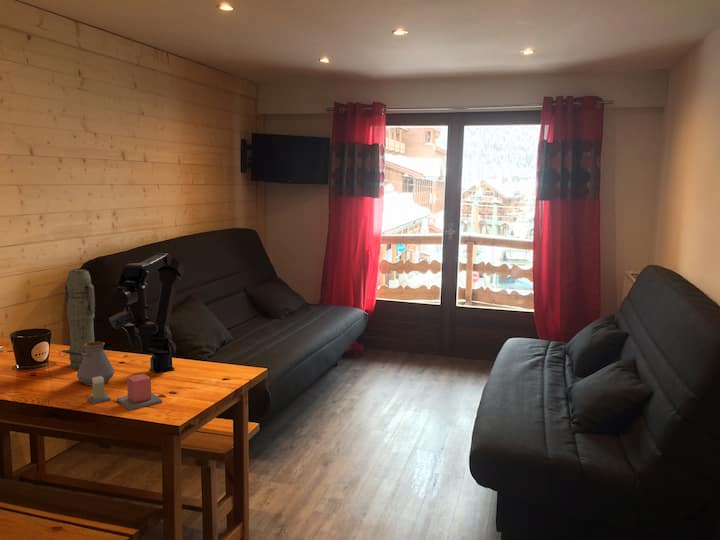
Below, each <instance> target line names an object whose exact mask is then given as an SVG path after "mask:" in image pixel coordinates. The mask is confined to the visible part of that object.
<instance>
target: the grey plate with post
mask: <svg viewBox="0 0 720 540" xmlns="http://www.w3.org/2000/svg"><path fill="white" fill-rule="evenodd" d="M116 401H117V402H118V403H119V404H120V405H122V406H123V407H124V408H126V409H127V410H128V411H133V410H137V409H140V408H145V407H149V406H153V405H158V404H161V403H163V399H161V398H160V397H158V396H157V395H156V394H154V393H153V392H151V399H148V400H144V401H140V402H136V403H134V402H133V401H131V400H130V399H128V395H125V396H121V397H116Z"/></svg>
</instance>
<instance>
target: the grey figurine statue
mask: <svg viewBox="0 0 720 540" xmlns="http://www.w3.org/2000/svg"><path fill="white" fill-rule="evenodd" d="M64 290H65V291H64V294H65V303H66V305H65V306H66V307H65V309H66V314H67V318H66V319H67V321H68V326H69V327H68V328H69V343H70V345H69V348H68V350H69V351H76V352H80V353H86V348H85V347H84V344H85V343H89V342H95V331H94V330H95V329H94V328H95V327H94V320H95V312H96V298H95V294H96V293H95V287H94V285H93V283H92V278H91V274H90V272H89V270H86V268H85V269H84V268H80V269H79V268H78V269H77V268H76V269H71V271H68V275H67V279H66V283H65V285H64ZM68 356H69V361H70V368H71V369H74V370H79V368H80V365H81V363H82V360H83V358H84V356H82V355H71V354H68Z"/></svg>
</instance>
